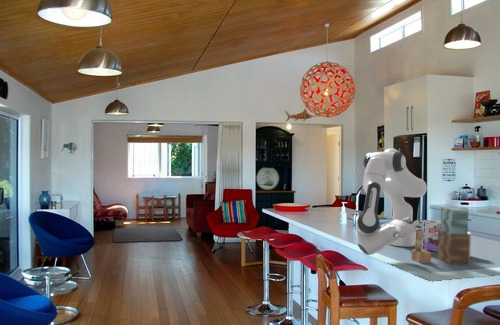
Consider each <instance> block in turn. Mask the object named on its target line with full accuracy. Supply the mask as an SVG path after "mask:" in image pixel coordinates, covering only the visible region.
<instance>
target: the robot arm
mask: <svg viewBox="0 0 500 325" xmlns="http://www.w3.org/2000/svg"><path fill="white" fill-rule="evenodd" d="M363 166H364V168H365V170H364V175H363V179H362V180H363V182H362V189H363V191H364V192H365V201H364V206H363V209H362V211H361V213H360V214H359V215H358V217H357V221H356V223H355V230H356V234H357V239H358V240H357V246H358V248H359V250H360V251H361V252H362V253H363V254H364V255H366V256H367V255H368V256H370V255H373V254H374V255H375V254H376V253H378V252H380V251H381V250H383V249H385V247H387V246H396V247H407V248H408V247H409V248H410V247H415V241H416V228H417V226H418V225H419V224H420V221H419V220H418V219H416V220H414V221H413V216H414V215H413V214H414V212H413V211H414V210H413V207H412V205H411V204H409V203H408V202H407V201H406V200H405V198H406V197H407V198H420V197H424V195H425V194H426V192H427V189H428V186H427V183H426V181H425V180H424V179H422V178H419V177H417V176H416V175H414V174H413V173H412V172H411V171H410V170H409V169H408V167H407V158H406V156H405V155H404V154H403V153H402V152H400V151H398V150H397V149H396V148H392V147H390V148H387V149H385V150H384V151H371V152H367V153H366V154H365V156H364V158H363ZM382 193H384V194H385V196H386V197H388V198H389V201H390V203H391V205H392V206H391V207H392V219H391V221H389V222H387V223H383V224H381V225H380V218H379V215H378V209H379V200H380V196H381V194H382ZM404 197H405V198H404ZM379 227H380V228H379Z"/></svg>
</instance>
